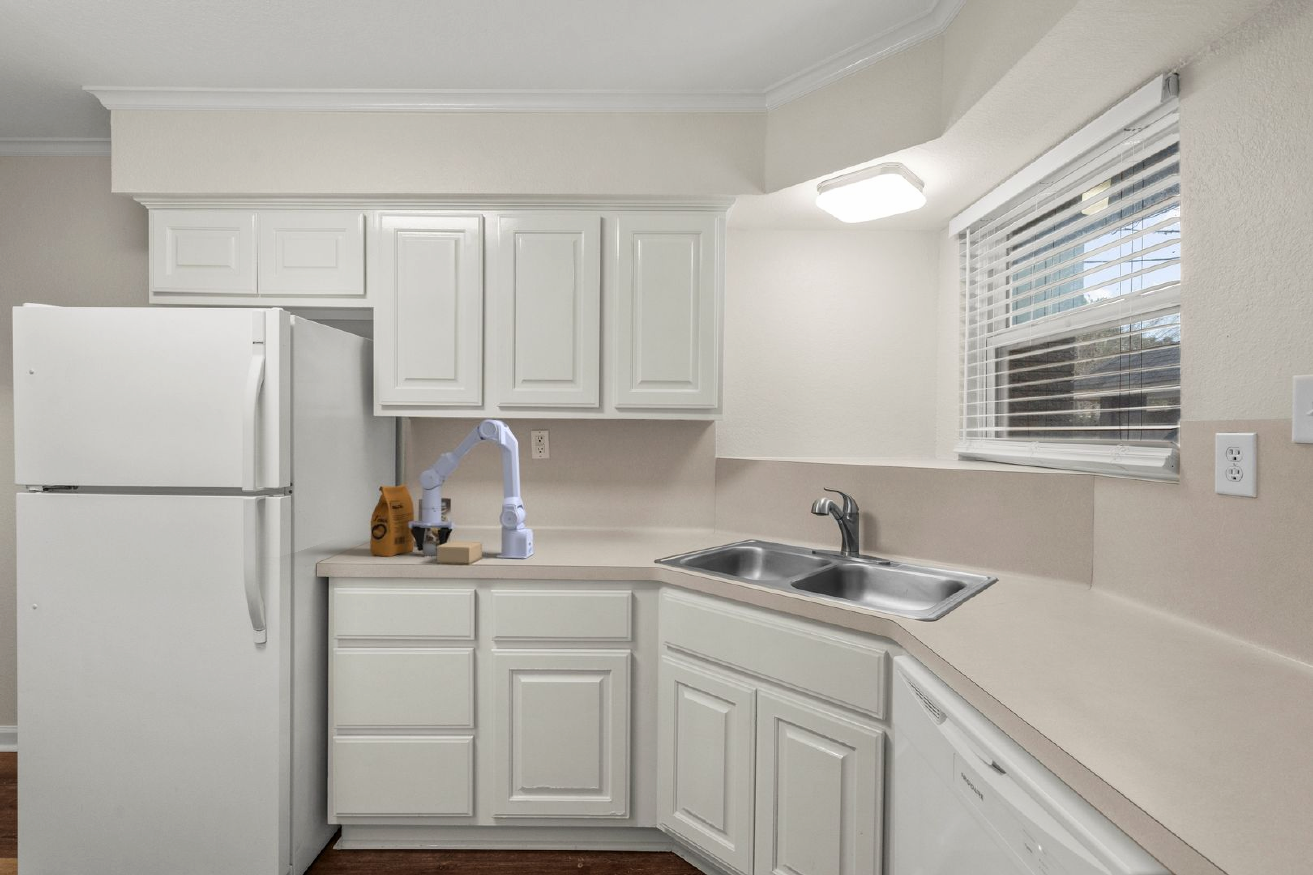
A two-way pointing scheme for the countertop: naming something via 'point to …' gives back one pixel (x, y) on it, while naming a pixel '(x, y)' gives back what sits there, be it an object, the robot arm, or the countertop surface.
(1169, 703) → the countertop surface
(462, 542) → the lid
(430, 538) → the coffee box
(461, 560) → the box
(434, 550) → the grey rounded cylinder
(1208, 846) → the countertop surface
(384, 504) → the coffee package
